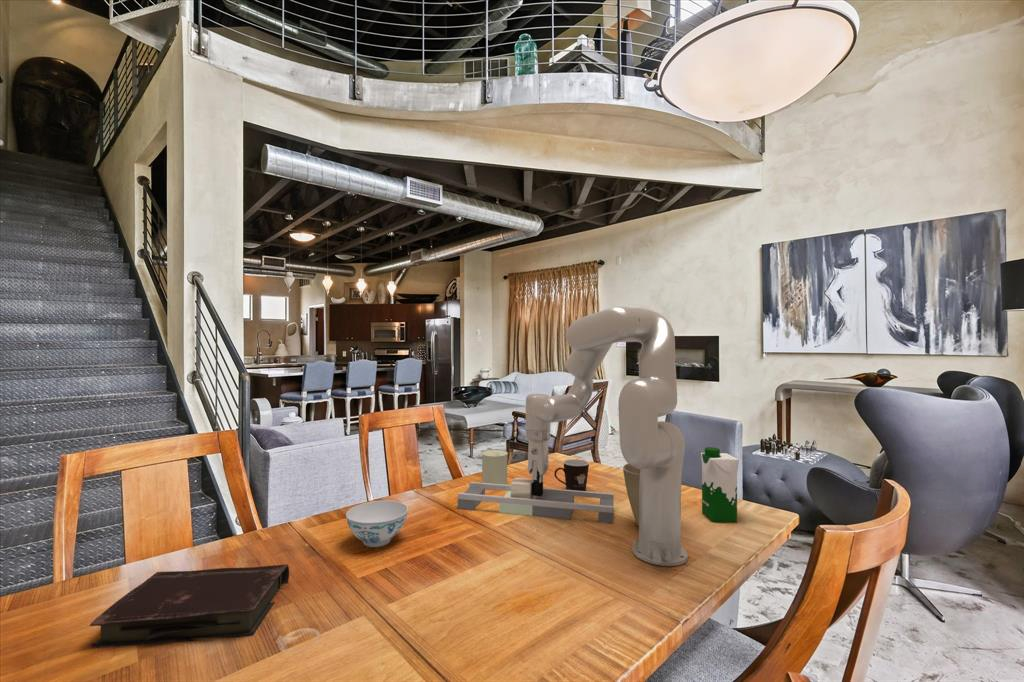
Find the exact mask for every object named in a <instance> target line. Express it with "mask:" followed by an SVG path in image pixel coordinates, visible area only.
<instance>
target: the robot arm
mask: <svg viewBox="0 0 1024 682" xmlns="http://www.w3.org/2000/svg"><path fill="white" fill-rule="evenodd" d="M675 338H676V337H675V332H674V329H673V327H672V324H671V323H670V321H669V320H668V319H667V318H666V317H665V316H664V315H662V314H660V313H658V312H656V311H654V310H650V309H645V308H641V307H640V308H638V307H627V306H614V307H613V306H612V307H609V308H606V309H603V310H600V311H597V312H594V313H592V314H588V315H585V316H582V317H579V318H577V319H576V320H574V321H573V322H572V323H571V324H570V325H569V327H568V329H567V332H566V341H567V344H568V346H569V347H570V348H571V349H572V351H571V353H570V354H569V356H568V358H567V360H566V362H565V367H566V370H567V371H568V373H570V375H572V376H573V377H574V379H573V383H572V385H571V387H570V388H569V390H568V392H567V393H566V394H557V395H553V396H549V395H548V394H546V393H530V394H527V395H526V397H525V440H526V441H528V446H527V447H528V451H527V453H528V455H527V469H528V470H527V472H528V474H529V475H531V479H532V495H533V496H542V495H543V488H544V481H543V480H544V476H545V475H546V473H547V472H548V469H549V468H550V466H549V465H550V463H549V460H550V459H549V442H550V441H551V423H558V422H563V421H567V420H568V421H569V420H574V419H576V418H578V416H580V415H581V414H582V412H583V411H584V410H585V408H586V406H587V405H588V403H589V402H590V400H591V398H592V395H593V392H594V391H593V390H594V380H593V378H594V376H595V374H596V373H597V370H598V369H599V367H600V366H601V364H602V362H603V361H604V359H605V357H606V356H607V354H608V353H609V351H610V349H611V347H612V346H613V344H615V343H634V342H635V343H640V344H641V347H640V351H639V354H638V378H634V379H631V380H630V381H628V382H626V384H624V385H623V387H622V388H621V390H620V393H619V396H618V426H619V427H618V431H619V434H618V435H619V447H620V451H621V454H622V456H623V458H624V460H625V461H626V464H629V465H631V466H632V467H634V468H637V469H641V471H640V481H639V527H638V540H636V541H634V542H633V544H632V545H631V547H632V548H631V551H632V553H633V554H634V556H635V557H636V558H638V559H639V560H640V561H643V562H645V563H647V564H651V565H656V566H660V567H677V566H681V565H683V564H684V563H686V562H687V560H688V557H689V556H688V551H687V549H686V548H685V547H683V546H682V545H681V544H682V543H681V541H682V539H681V538H682V536H681V535H682V533H681V532H682V531H681V529H682V528H681V526H682V525H681V523H682V522H681V521H682V517H681V516H682V510H681V509H682V472H683V471H682V470H683V464H684V459H685V458H684V457H685V452H686V442H685V437H684V435H683V433H682V431H681V430H680V428H678V427H677V426H676V425H675V424H674V423H671V422H668V421H662V420H661V421H660V420H659V418H660V417H663V416H667V415H669V414H671V413H672V412H674V411H675V409H676V408H677V405H678V387H677V386H678V385H677V364H676V339H675Z"/></svg>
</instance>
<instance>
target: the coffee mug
mask: <svg viewBox="0 0 1024 682" xmlns="http://www.w3.org/2000/svg"><path fill="white" fill-rule="evenodd" d="M562 463H563V467H557V468H556V469H555V471H554V478H556V479H557V481H558V482H560V483H562V484H564V485H565V490H576V491H586V490H587V485H588V484H587V483H588V476H589V475H588V473H589V468H590V467H589V466H590V462H589V461H587V460H585V459H580V458H578V459H577V458H574V459H573V458H572V459H565V460H564V461H563V462H562ZM559 470H562V471H563V472H564V480H565V482H564V481H563V480H561V479H560V478H558V475H557V472H558V471H559Z"/></svg>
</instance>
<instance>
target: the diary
mask: <svg viewBox="0 0 1024 682" xmlns="http://www.w3.org/2000/svg"><path fill="white" fill-rule="evenodd" d="M289 581H290V567H289V565H288V564H277V565H276V564H275V565H265V566H264V565H263V566H255V567H254V566H252V567H251V566H250V567H249V566H248V567H247V566H246V567H222V568H221V567H219V568H209V569H198V570H182V571H181V570H180V571H179V570H177V571H175V570H174V571H171V570H170V571H157V572H155V573H154V574H153V575H151V576H150V577H148V578H147V579H146V580H145V581H143V582H142V583H141V584H139V585H138V586H136V587H134V588H133V589H132V590H130V591H129V592H128V593H126V594H124V595H123V596H122V597H120V599H118V600H117V601H115V602H114V603H113V604H112V605H110V606H109V607H108V608H107V609H106V610H104V611H103V612H102V613H101V614H100V615H99V616H97V617H96V618H95V619H94V620H93V621H92V622H91V623H90V624H89V627H95V626H96V627H97V626H98V627H100V638H99V639H97V640H96V641H95V642H93V643H90V644H89V645H88V646H90V647H92V648H95V649H103V648H116V647H117V648H118V647H129V646H130V647H131V646H132V647H133V646H143V645H155V644H164V643H165V644H166V643H182V642H193V641H196V640H198V639H207V638H218V639H219V638H220V639H221V638H223V639H224V638H225V639H226V638H228V639H230V638H247V637H253V636H254V635H255V633H256V632H257V630H258V628H259V627H260V626H261V624H262V622H263V621H264V620H265V618H266V617H267V615H268V613H269V612H270V610H271V609H272V608H273V606H274V604H275V603H276V602H275V601H272V600H273V599H274V597H275V596H276V595H277V593H278V592H279V590H281V589H285V587H281V586H282V585H285V584H286V585H287V584H289Z"/></svg>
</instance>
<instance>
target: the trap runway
mask: <svg viewBox="0 0 1024 682" xmlns="http://www.w3.org/2000/svg"><path fill="white" fill-rule="evenodd" d="M468 486H469V487H468V488H467V489H466V490H464V492H458V493H457V509H458V510H459V509H460V510H469V511H474V510H475V509H476V508H477V507H478V506H479V504H480V503H481V502H489V503H499V504H498V505H499V507H498V508H499V509H498V513H500V514H509V515H510V514H511V515H519V516H520V515H521V516H530V517H541V518H550V519H551V518H552V519H560V520H561V519H562V520H571V518H572V513H573V511H574V510H578V511H589V512H590V511H591V512H598V523H602V522H604V523H603V524H612V523H613V524H614V509H615V508H614V504H615V503H614V499H615V498H614V496H615V494H614V493H611V492H610V493H609V492H597V491H576V490H566V489H561V488H552V487H551V488H550V487H543V495H542V496H533V498H532V499H525V498H513V497H511V484H508V485H502V484H490V483H482V482H475V481H474V482H473V481H470V482H469V485H468ZM490 489H494V491H495V490H497V491H506V492H505V494H504V495H503V496H501V495H488V494H486V490H490ZM575 497H580V498H588V499H589V498H591V499H600V500H599V504H593V503H592V504H591V503H581V502H580V503H578V502H575Z"/></svg>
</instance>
